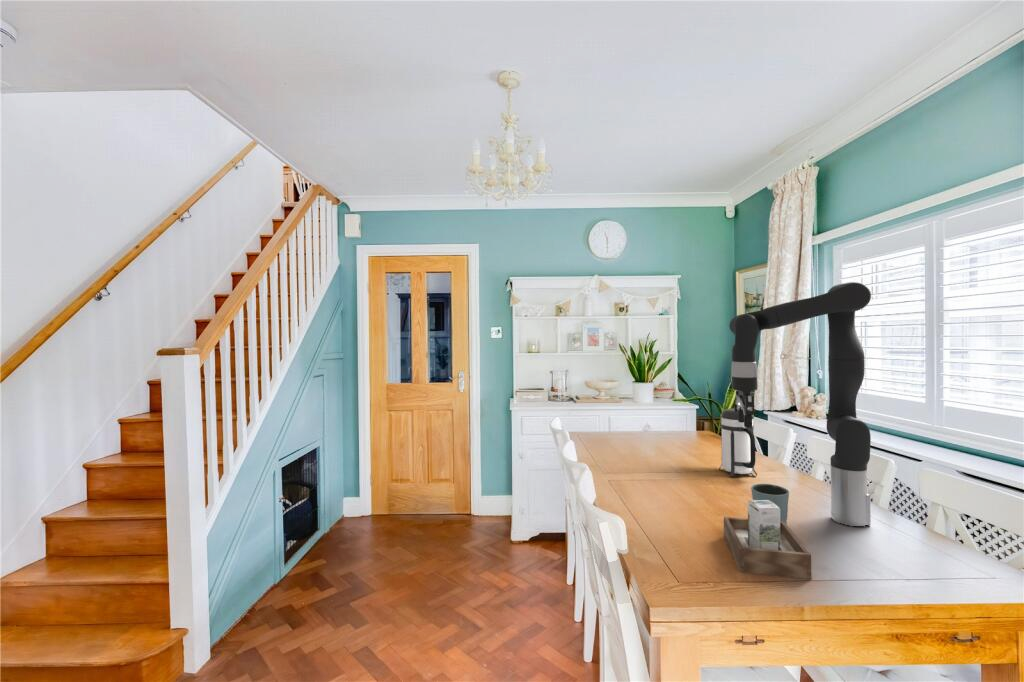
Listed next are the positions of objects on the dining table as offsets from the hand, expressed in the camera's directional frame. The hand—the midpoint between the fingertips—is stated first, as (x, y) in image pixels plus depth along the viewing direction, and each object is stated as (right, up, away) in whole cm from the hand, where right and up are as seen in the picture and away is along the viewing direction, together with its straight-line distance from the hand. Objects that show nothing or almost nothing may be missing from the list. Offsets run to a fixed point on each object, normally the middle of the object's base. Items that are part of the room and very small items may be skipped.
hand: (744, 424), depth 147 cm
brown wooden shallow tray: (-9, -31, -26) cm, 41 cm away
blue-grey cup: (+3, -30, -9) cm, 32 cm away
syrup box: (-8, -31, -26) cm, 41 cm away
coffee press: (+20, -29, +43) cm, 56 cm away
